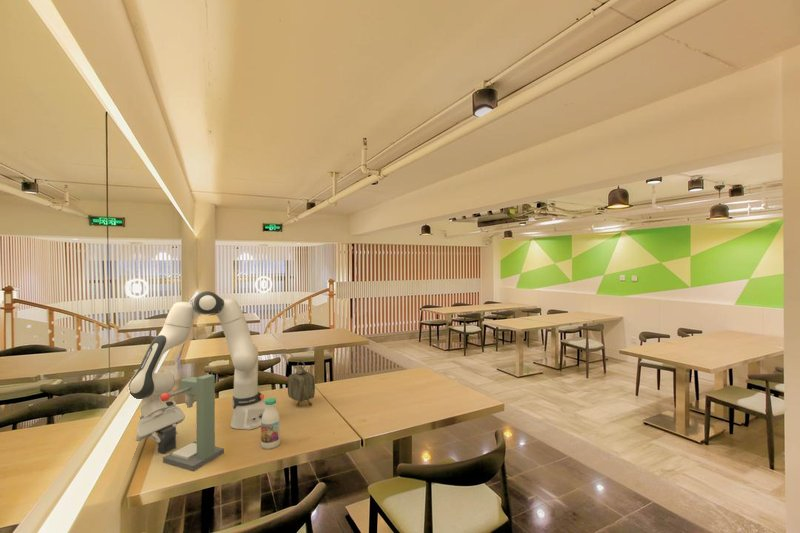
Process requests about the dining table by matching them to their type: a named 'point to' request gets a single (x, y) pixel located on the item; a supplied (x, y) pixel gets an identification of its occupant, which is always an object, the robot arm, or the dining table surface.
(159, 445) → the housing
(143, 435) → the robot arm
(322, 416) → the dining table surface
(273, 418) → the milk bottle
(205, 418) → the press
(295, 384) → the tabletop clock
